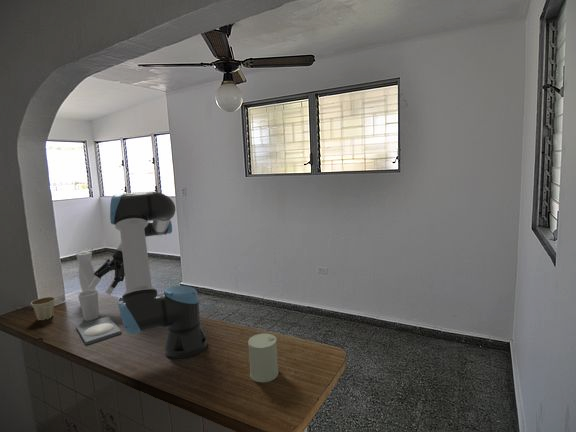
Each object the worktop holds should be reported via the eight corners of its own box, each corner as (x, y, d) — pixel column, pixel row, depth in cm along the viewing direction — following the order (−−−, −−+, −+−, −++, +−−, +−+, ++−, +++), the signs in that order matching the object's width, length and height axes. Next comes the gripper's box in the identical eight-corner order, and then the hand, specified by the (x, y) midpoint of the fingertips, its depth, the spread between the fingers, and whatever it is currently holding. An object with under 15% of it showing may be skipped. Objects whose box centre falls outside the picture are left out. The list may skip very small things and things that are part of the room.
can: (281, 378, 108) (280, 343, 106) (252, 385, 105) (250, 348, 104) (274, 363, 117) (272, 329, 115) (247, 368, 114) (245, 334, 112)
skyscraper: (96, 295, 189) (90, 246, 185) (101, 299, 184) (94, 248, 180) (80, 300, 183) (73, 249, 179) (84, 303, 178) (77, 251, 174)
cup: (86, 322, 155) (82, 297, 153) (78, 318, 160) (75, 294, 158) (104, 316, 161) (101, 291, 160) (96, 312, 166) (93, 288, 165)
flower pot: (62, 314, 166) (60, 297, 165) (45, 322, 157) (42, 304, 156) (45, 313, 168) (43, 296, 167) (28, 322, 159) (25, 304, 157)
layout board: (121, 333, 143) (121, 330, 143) (86, 344, 135) (85, 341, 135) (108, 318, 158) (108, 315, 158) (76, 328, 150) (75, 325, 150)
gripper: (144, 259, 172) (121, 298, 161) (113, 254, 184) (89, 291, 173) (134, 251, 166) (109, 291, 156) (102, 247, 178) (77, 284, 168)
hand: (98, 291), depth 164 cm, fingers open, 13 cm apart
